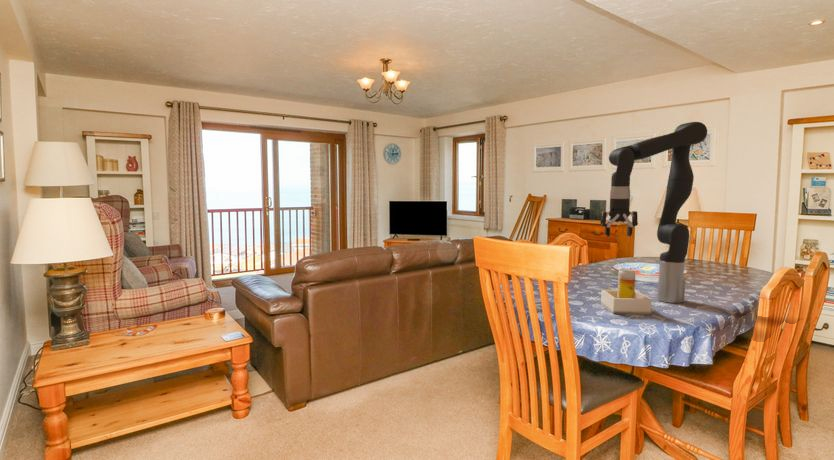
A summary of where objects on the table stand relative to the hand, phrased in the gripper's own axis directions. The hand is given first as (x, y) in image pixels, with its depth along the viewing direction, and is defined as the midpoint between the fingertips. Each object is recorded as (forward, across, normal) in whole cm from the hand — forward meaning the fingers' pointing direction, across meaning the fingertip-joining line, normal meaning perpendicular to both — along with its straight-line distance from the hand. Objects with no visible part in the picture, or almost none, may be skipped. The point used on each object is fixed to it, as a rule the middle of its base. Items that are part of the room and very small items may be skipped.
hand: (618, 236), depth 189 cm
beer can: (+27, 0, +10) cm, 29 cm away
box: (+28, 0, +10) cm, 30 cm away
